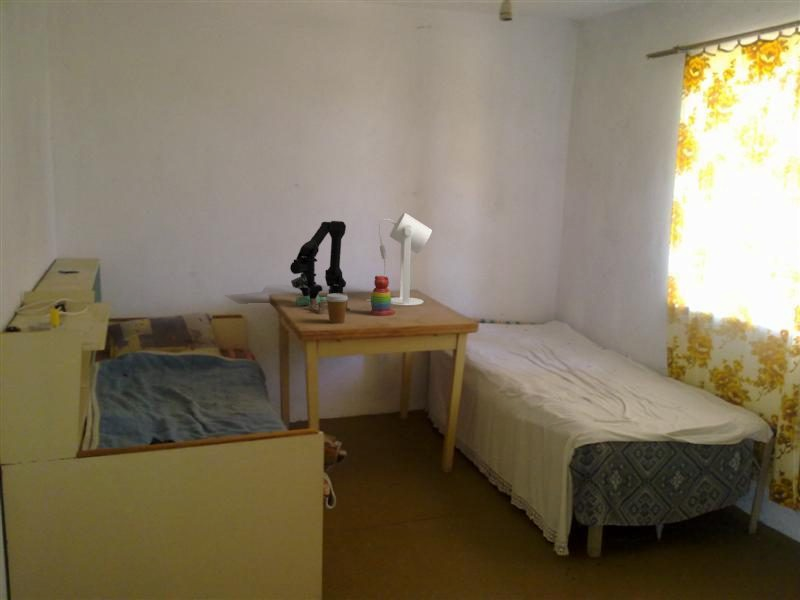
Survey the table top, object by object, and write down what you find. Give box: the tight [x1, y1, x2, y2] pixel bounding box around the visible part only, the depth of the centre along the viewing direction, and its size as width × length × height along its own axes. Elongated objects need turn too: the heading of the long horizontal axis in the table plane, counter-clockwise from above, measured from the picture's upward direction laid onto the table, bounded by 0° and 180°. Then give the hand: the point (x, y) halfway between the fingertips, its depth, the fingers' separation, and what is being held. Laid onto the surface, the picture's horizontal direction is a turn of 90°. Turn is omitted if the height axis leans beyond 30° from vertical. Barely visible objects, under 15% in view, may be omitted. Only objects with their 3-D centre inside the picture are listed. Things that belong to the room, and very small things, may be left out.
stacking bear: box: [370, 275, 396, 317], centre depth 301 cm, size 11×10×18 cm
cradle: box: [307, 299, 351, 315], centre depth 308 cm, size 16×12×5 cm
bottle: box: [295, 294, 327, 307], centre depth 320 cm, size 17×4×4 cm
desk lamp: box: [366, 212, 433, 306], centre depth 327 cm, size 21×32×45 cm, turn 95°
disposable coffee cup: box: [325, 293, 349, 325], centre depth 283 cm, size 10×10×12 cm
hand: (308, 303), depth 318 cm, fingers open, 6 cm apart
